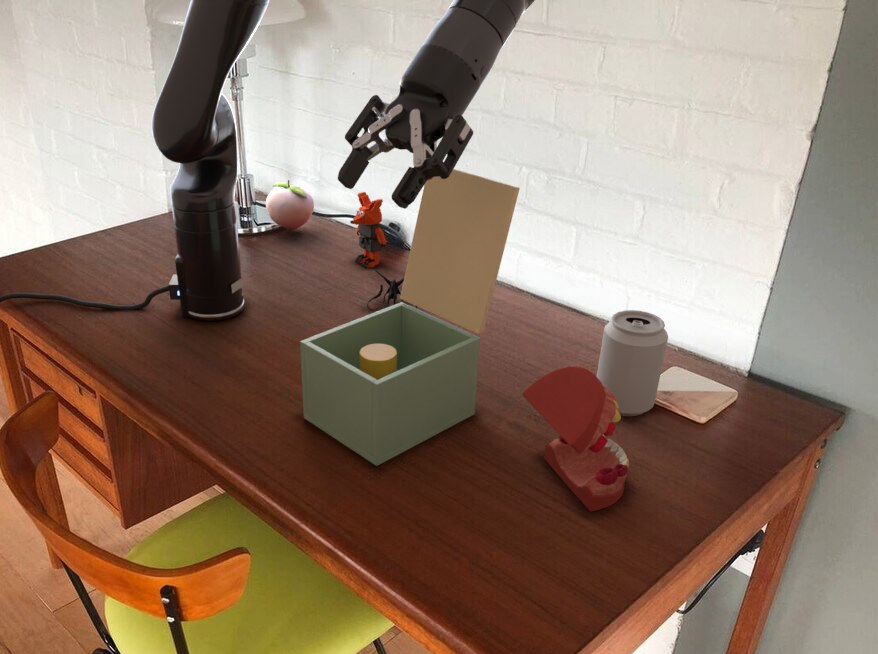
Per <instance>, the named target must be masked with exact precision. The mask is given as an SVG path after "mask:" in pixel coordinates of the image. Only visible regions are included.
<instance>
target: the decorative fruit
mask: <svg viewBox="0 0 878 654" xmlns="http://www.w3.org/2000/svg"><path fill="white" fill-rule="evenodd" d="M272 187H273V189H272V190H271V191H270V192H269V194H268V195H267V197H266V200H265V208H266V212H267V214H268V216H269V218H270V219H271V220H272V221H273V223H275V224H276V225H277V226H280V227H283V228H284V229H287V230H289V231H291V232H292V231H294V230H297V229H299V228H301V227H302V226H304V225H305V224H306V223H307V222H309V220H310V219H311V217H312V215H313V213H314V208H315V203H314V198H313V196H312V195H311V193H310V192H309V191H308V190H307V189H305V188H303V187H300V186H297V185H291V184H290V179H288V180H287V182H286V181H280V182H275V183H273V185H272Z"/></svg>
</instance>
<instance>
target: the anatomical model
mask: <svg viewBox="0 0 878 654" xmlns="http://www.w3.org/2000/svg"><path fill="white" fill-rule="evenodd" d="M522 397H523V398H524V399H525V400H526V401H527V402H528V403H529V404H530V405H531V406H532V407H533V409H535V411H537V412H538V414H539V415H541V417H542V419H544V421H546V422H547V423H548V424H549V425H550V426H551V428H553V430H554V431H556V432H557V434H558V435H559V437H558V438H555V439H554V440H552V441H551V442H549V443H548V444H546V445H545V449H544V457H543V458H544V460H545V461H546V462H547V463H548V465H549V466H550V467H551V468H552V470H553V471H554V472H555V473H556V475H558V477H559V478H560V479H561V480H562V481H563V483H564V484H565V485H566V486H567V487H568V488H569V490H571V492H572V493H573V494H574V496H576V497H577V499H579V501H581V503H582V504H583V505H584V506H585V507H586V509H588V511H589V512H590V513H592V512H597V511H599V510H603V509H606V508H608V507H610V506H612V505H614V504H615V503H616V502H618V501H619V500H620V499H621V497H622V496H623V494H624V490H625V484H626V482H625V481H626V479H627V477H628V471H629V470H628V468H629V466H630V460H629V458H628V456H627V454H626V453H625V450H624V449H623V448H622V447H621V446H620V445H619V444H618V443H616V442H615V441H613V440H612V439H610V438H608V437H609V436H613V434H614V431H615V430H616V424H615V423H618V422H620V421H621V419H622V416H620V414H619V412H618V408H619V406H618V404H617V402H616V399H615V396H614V395H613V393H611V392H610V391H608V390H607V389H606V387H605V386H603V384H602V382H601V381H600V380H599V379H598V378H597V375H596V374H595V373H593V372H592V371H591V370H589V369H587V368H585V367H582V366H566V367H562V368H558V369H555V370H553V371H551V372H549V373H546V374H545V375H543V376H542V377H540V378H538V379H537V380H536V381H535V382H533V383H532V384H531V385H530V386H529V387H527V389H525V390H524V391H523V392H522ZM606 436H607V437H606Z"/></svg>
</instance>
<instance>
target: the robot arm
mask: <svg viewBox="0 0 878 654" xmlns="http://www.w3.org/2000/svg"><path fill="white" fill-rule="evenodd" d="M535 1H536V0H452V2H451V4H450V5H449V7H448V9H447V10H446V12H445V13H444V14H443V16H442V17H441V18H440V19H439V20H438V21H437V23H436V24H435V25H434V26H433V27H432V29H431V30H430V32H429V34H428V35H427V37H426V38H425V40H424V41H423V43H422V44H421V46H420V47H419V49H418V51H417V52H416V54H415V56H414V57H413V59H412V60H411V61H410V63H409V64H408V67H407V68H406V70H405V71H404V73H403V74H402V76H401V77H400V80H399V92H398V95H397V97H396V98H395V99H393V100H392V101H391V102H390V103H389V102H385V101H383V100H382V98H381V97H380V96H379V95H378V94H375V95H372V96H371V97H370V98H369V100H368V102H367V103H366V104H365V106H364V107H363V109H362V110H361V111H360V113H359V114H358V116H357V117H356V119H355V120H354V122H353V123H352V124H351V126H350V127H349V128H348V130H347V132H346V133H345V135H344V139H345V141H346V142H347V143H348V144H349V145H350V146H351V151H350V153H349V155H348V157H347V158H346V159H345V161H344V163H343V164H342V166H341V167H340V168H339V170H338V174H337V180H338V182H339V183H340V184H341V185H342V186H343V187H344V188H345V189H349V190H353V189H354V187H355V186H356V184H357V183H358V182H359V180H360V178H361V177H362V175H363V173H364V172H365V170H366V169H367V168H368V166H369V164H370V160H372V159H374V158H375V157H377V156H378V155H379V154H382V153H385V154H386V153H389V152H391V151H393V150H394V149H397V150H401V151H403V150H407V151H408V152H409V153H411V154H412V165H413V167H412V166H408V168H407V170H406V171H405V173H404V174H403V176H402V178H401V179H400V181H399V182H398V184H397V185H396V187H395V188H394V190H393V191H392V193H391V200H392V201H393V202H394V203H395V204H396V205H397V206H398V207H399V208H400V209H404V210H405V209H408V207H409V206H410V205H411V204H412V203H414V202H415V200H416V199H417V197H418V196H419V194H420V192H421V191H422V190H423V189H424V184H425V183H426V181H427V180H431V179H432V178H433V177H439V176H440V177H441V178H442V179H446V178H448V177H449V176H450V174H451V172H452V171H453V169H455V168H456V165H457V163H458V162H459V160H460V158H461V157H462V155H463V153H464V151H465V149H466V148H467V146H468V144H469V143H470V141H471V139H472V137H473V136H474V130H473V129H472V127H471V126H470V124H469V122H468V121H467V120H466V119H465V118H464V116H463V115H464V113H465V112H466V110H467V109H468V107H469V105H470V104H471V102H472V101H473V99H474V97H475V96H476V95H477V93H478V91H479V90H480V88H481V86H482V85H483V83H484V82H485V80H486V79H487V77H488V75H489V74H490V72H491V71H492V69H493V68H494V65H495V63H496V60H497V58H498V56H499V54H500V52H501V50H502V49H503V47H504V46H505V44H506V43H507V41H508V40H509V39H510V38H509V37H510V36H511V35H512V34H513V32H514V30H515V28H516V27H517V25H518V23H519V21H520V19H521V17H522V16H523V14H524V13H525V12H526V11H528V10H529V8H530V7H531V6H532V5H533V4H534V3H535ZM269 3H270V0H190V3H189V6H188V9H187V13H186V16H185V20H184V24H183V28H182V30H181V31H182V32H181V35H180V38H179V42H178V46H177V49H176V52H175V55H174V58H173V61H172V64H171V67H170V69H169V71H168V74H167V77H166V79H165V80H164V83H163V86H162V89H161V91H160V92H159V93H160V94H159V96H158V98H157V100H156V103H155V106H154V108H153V111H152V116H151V134H152V139H153V141H154V144H155V146H156V147H157V149H158V151H159V152H160V153H161V154H162V156H163V157H164V158H165V159H167V160H168V161H170V162H173V163H176V164H179V166H178V170H177V172H176V174H175V177H174V179H173V180H172V182H171V183H170V187H169V195H170V201H171V202H170V203H171V209H172V211H171V212H172V220H173V225H174V235H175V242H176V252H177V254H176V256H175V260H174V263H175V270H176V274H172V276H171V278H170V281H169V283H168V285H165V286H163V287H162V286H161V287H159V288H157V289H155V290H153V291H151V292H150V293H148V294H147V296H146V297H145V300H144V301H143V302H140V303H137V304H130V305H120V304H112V303H106V302H105V303H104V302H97V301H87V300H82V299H77V298H74V297H72V296H71V297H70V296H67V295H63V294H62V295H61V294H51V293H50V294H49V293H48V294H47V293H44V294H43V293H32V292H12V293H11V292H10V293H6V294H3V295H0V303H2V302H4V301H7V300H13V299H31V300H32V299H34V300H47V301H49V300H50V301H51V300H52V301H61V302H66V303H70V304H74V305H77V306H81V307H87V308H94V309H95V308H96V309H102V310H103V309H104V310H109V311H132V310H134V311H135V310H141V309H143V308H146V307H147V306H149V305H150V303H151V302H152V301H153V298H155V297H156V296H159V295H161V294H164V293H167V292H169V299H170V300H171V301H173V300H177V301H179V302H180V310H181V317H182V318H191V319H193V320H197V321H204V322H215V321H223V320H228V319H230V318H233V317H236V316H238V315H239V314H241V313H242V312H243V311H244V309H245V298H244V292H243V291H244V290H243V287H244V285H243V284H244V283H243V276H242V267H241V257H240V256H241V255H240V244H239V231H238V221H237V219H238V218H237V208H236V207H237V206H236V195H235V189H236V185H237V182H238V177H239V167H238V166H239V163H238V160H239V159H238V139H237V124H236V119H235V115H234V111H233V108H232V106H231V104H230V102H229V100H228V98H227V97H226V96H225V95H224V94H223V93H222V92H223V88H224V86H225V83H226V81H227V78H228V76H229V74H230V72H231V71H232V69H233V67H234V65H235V63H236V62H237V60H238V58H239V57H240V55H241V54H242V53H243V51H244V50H245V48H246V47H247V45H248V44H249V42H250V41H251V39H252V37H253V35H254V34H255V32H256V31H257V29H258V27H259V25H260V23H261V21H262V19H263V17H264V15H265V13H266V11H267V8H268V5H269ZM362 130H363V133H362V134H361V136H358V135H359V134H360V133H361V131H362ZM383 131H384V135H385V137H384V135H382V132H383ZM439 140H440V141H439ZM438 141H439V142H438ZM373 142H374V144H373V145H371V146H370V147H369V144H371V143H373ZM437 143H438V144H437Z"/></svg>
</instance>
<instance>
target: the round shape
mask: <svg viewBox="0 0 878 654" xmlns="http://www.w3.org/2000/svg"><path fill="white" fill-rule="evenodd" d="M360 370H361V371H363V372H364V373H366V374H368V375H370V376H371V377H373V378H375V379H377V380H378V379H381V378H383V377H385V376H387V375H390V374H392V373H394V372H396V371H397V351H396V349H395V348H394V347H392V346H390V345H387V344H370V345H366V346H364V347H363V348H362V349H361V350H360Z"/></svg>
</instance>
